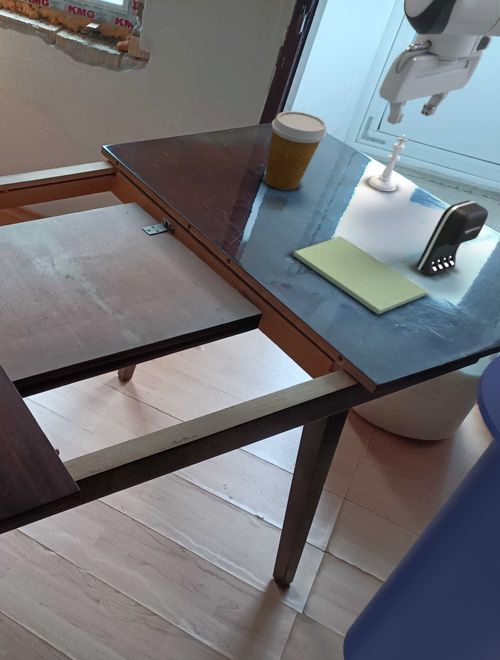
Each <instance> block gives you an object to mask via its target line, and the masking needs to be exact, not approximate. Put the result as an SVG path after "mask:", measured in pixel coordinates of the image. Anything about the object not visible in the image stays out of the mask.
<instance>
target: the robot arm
mask: <svg viewBox="0 0 500 660" xmlns="http://www.w3.org/2000/svg"><path fill="white" fill-rule="evenodd" d="M403 11H404V15H405V18H406V20H407V21H408V24H409V25H410V26H411V28H412V29H413V30H414V31H415V33H416V37H415V38H414V41H413V43H411V44H408V46H407V47H406V49H404V50H403V51H401V52H400V53H399V54H398V55H397V56H396V57H395V58H394V60H393V62H392V63H391V65H390V67H389V69H388V70H387V73H386V75H385V77H384V79H383V81H382V83H381V86H380V88H379V91H378V92H379V97H380V98H381V99H383V100H385V101H387V102H389V113H388V117H387V118H386V121H387V123H389V124H391V125H397V124H400V123H401V122H402V120H403V117H404V116H405V114H404V113H403V107H405V106H406V104H407V102H409V101H412V100H417V99H422V98H427V97H430V96H431V97H430V98H429V100H428V101H427V102H426V103H424V104H423V106H422V109H421V111H420V114H421V115H423V116H425V117H430V116H434V115H435V114H436V111H437V110H438V107H439V106H440V105H441V104H442V103H443V101H444V100H445V99H446V98H447V97H448V95H449V93H450V92H453V91H457V90H462V89H464V87H466V85H467V84H468V83H469V82H470V80H471V79H472V77H473V75H474V73H475V71H476V70H477V68H478V66H479V64H480V61H481V60H482V57H483V53H484V52H483V51H486V50H487V49H488V48H490V45H491V43H492V40H493V37H496V38H497V37H498V38H500V0H404V1H403Z"/></svg>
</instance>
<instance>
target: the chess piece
mask: <svg viewBox="0 0 500 660" xmlns="http://www.w3.org/2000/svg"><path fill="white" fill-rule="evenodd" d="M396 141H397V142H396V143H393V145H392V154H388V156H387V158H388V163H387V165H386V167H385V168H384V170H383V171H382V173H381V174H379V175H373V176H372V177H370V179H369V180H368V184H369V185H370V186H371V187H372V188H374V189H376V190H379V191H382V192H393V191H395V190H396V188H397V182H396V181H395V180H394V179H393V178H392V174H393V171H394V167H395V164H396V162H399V161H400V160H401V157H400V154H401V153H402V152H403V151H404V150H405V148H406V146H405V144H404V143H407V142H408V138H406V135H405V134H402V136H401V137H397V138H396Z"/></svg>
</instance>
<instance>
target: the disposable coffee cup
mask: <svg viewBox="0 0 500 660" xmlns="http://www.w3.org/2000/svg"><path fill="white" fill-rule="evenodd" d="M271 127H272V133H271V138H270V144H269V149H268V150H269V151H268V156H267V162H266V169H265V173H264V177H263V178H264V182H265V184H267V185H269V186H270V187H272V188H275V189H279V190H284V191H290V190H295V189H297V188H298V187H299V185H300V182H301V181H302V178H303V176H304V175H305V173H306V170H307V169H308V167H309V164H310V163H311V161H312V159H313V157H314V155H315V153H316V151H317V149H318V147H319V145H320V143H321V141H322V140H323V139H324V138H325V137H326V135H327V124H326V122H325V121H324V120H323V119H322V118H320V117H318V116H316V115H314V114H311V113H307V112H303V111H296V110H288V111H282V112H279V113H278V114H277V115H276V117H275V118H274V119H273V120H272V123H271Z"/></svg>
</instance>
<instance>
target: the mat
mask: <svg viewBox="0 0 500 660" xmlns="http://www.w3.org/2000/svg"><path fill="white" fill-rule="evenodd" d="M292 256H293V257H295V258H296V259H297V260H298V261H300V262H301V263H303V264H305V265H306V266H308V267H309V268H310V269H312V270H313V271H315V272H316V273H318V274H319V275H321V276H322V277H323V278H325V279H326V280H328V282H331V283H332V284H334V285H335V286H337V287H338V288H339V289H340V290H342V291H344V293H346V294H348V295H349V296H351V297H352V298H354V299H355V300H356V301H357V302H359V303H360V304H362V305H364V306H365V307H366V308H368V309H369V310H371V311H372V312H374V313H375V314H377V315H381V314H383V313H385V312H388V311H390V310H393V309H395V308H397V307H400V306H402V305H405V304H407V303H410V302H412V301H415V300H417V299H420V298H422V297H425V296H426V295H427V293H428V290H426V289H425V288H424V287H421V286H420V285H418V284H417V283H415V282H413V281H412V280H410V279H409V278H408V277H406V276H404V275H402V274H401V273H399V272H398V271H396V270H395V269H393V268H392V267H390V266H388V265H387V264H386V263H384V262H382V261H380V260H379V259H378V258H377V257H375V256H373V255H371V254H370V253H368V252H366V251H365V250H363V249H362V248H360V247H358V246H356V245H355V244H353V243H352V242H350V241H349V240H348V239H346V238H345V237H343V236H337V237H334V238H331V239H328V240H326V241H325V240H324V241H321V242H319V243H315V244H313V245H310V246H306V247H304V248H301V249H297V250H294V251H293V254H292Z"/></svg>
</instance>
